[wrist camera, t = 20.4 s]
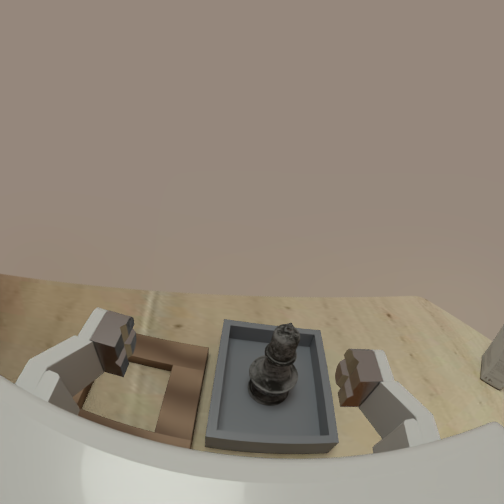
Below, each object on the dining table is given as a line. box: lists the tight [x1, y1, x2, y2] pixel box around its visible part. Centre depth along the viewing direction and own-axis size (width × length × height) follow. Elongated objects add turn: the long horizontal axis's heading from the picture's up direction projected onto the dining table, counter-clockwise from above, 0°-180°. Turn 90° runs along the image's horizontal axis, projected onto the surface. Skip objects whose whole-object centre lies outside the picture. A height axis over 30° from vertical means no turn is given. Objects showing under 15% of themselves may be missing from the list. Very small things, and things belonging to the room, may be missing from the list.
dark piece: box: [248, 323, 300, 406], centre depth 30 cm, size 6×6×12 cm
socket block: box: [73, 334, 208, 449], centre depth 29 cm, size 18×18×2 cm
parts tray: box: [205, 319, 339, 454], centre depth 32 cm, size 18×14×4 cm
